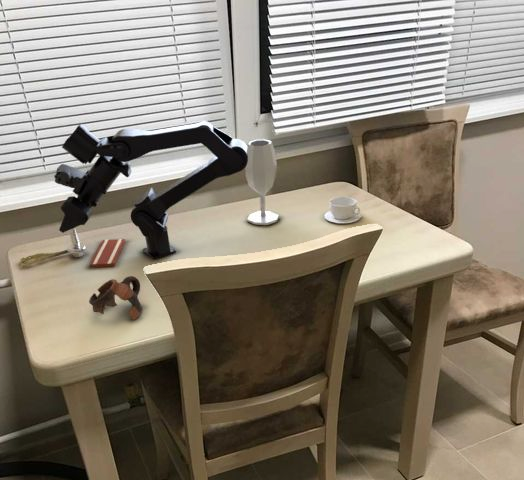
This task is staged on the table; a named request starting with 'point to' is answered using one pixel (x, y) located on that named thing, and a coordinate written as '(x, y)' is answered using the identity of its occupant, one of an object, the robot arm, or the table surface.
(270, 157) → the wineglass
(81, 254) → the screw
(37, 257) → the tongs
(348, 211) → the teacup
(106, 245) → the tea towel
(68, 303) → the table surface
